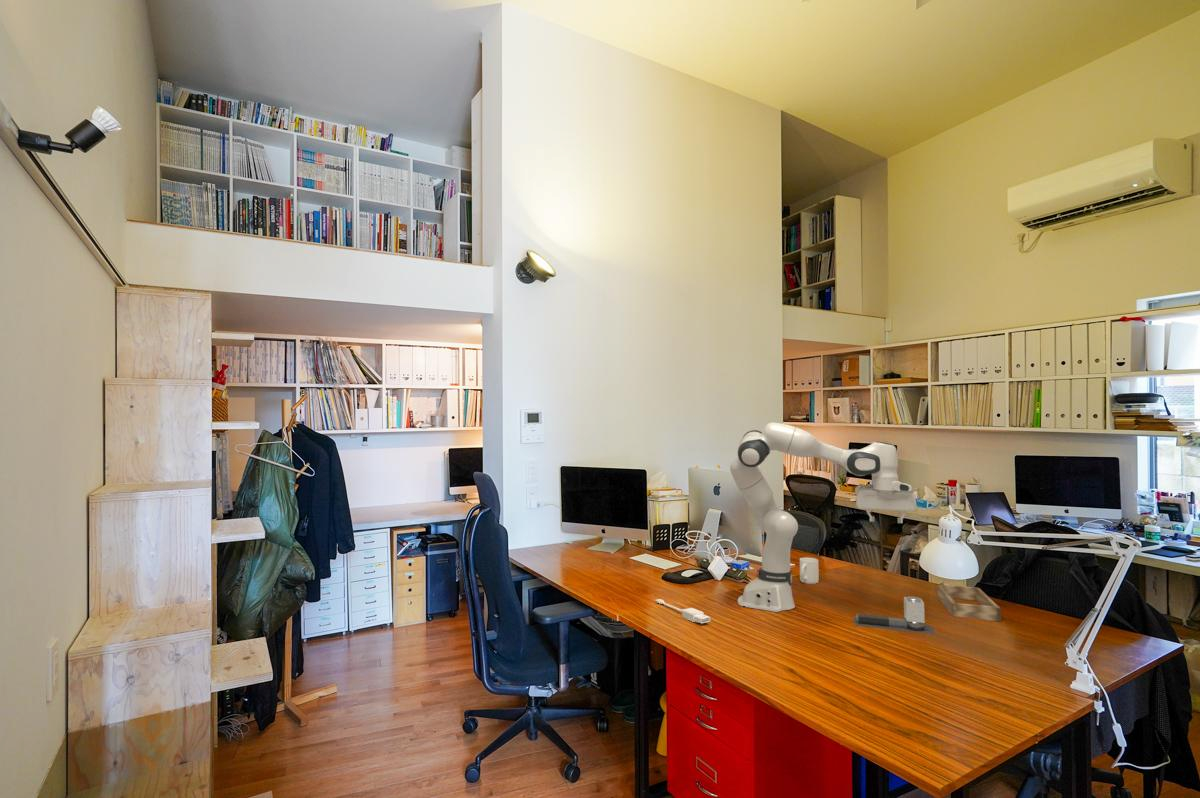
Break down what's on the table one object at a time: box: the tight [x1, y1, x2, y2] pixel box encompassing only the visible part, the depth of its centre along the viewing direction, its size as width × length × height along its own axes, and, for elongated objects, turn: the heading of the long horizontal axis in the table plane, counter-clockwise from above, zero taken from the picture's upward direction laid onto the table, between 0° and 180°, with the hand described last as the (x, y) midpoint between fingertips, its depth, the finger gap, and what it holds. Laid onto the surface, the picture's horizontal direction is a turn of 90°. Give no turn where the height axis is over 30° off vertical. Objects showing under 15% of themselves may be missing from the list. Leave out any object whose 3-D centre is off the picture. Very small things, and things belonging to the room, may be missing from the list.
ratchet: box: [855, 613, 925, 631], centre depth 207 cm, size 22×6×8 cm, turn 70°
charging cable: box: [654, 598, 711, 624], centre depth 222 cm, size 5×32×3 cm, turn 29°
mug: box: [799, 557, 820, 585], centre depth 265 cm, size 12×8×10 cm
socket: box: [903, 595, 926, 624], centre depth 204 cm, size 6×6×8 cm
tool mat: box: [852, 617, 937, 635], centre depth 207 cm, size 26×9×1 cm, turn 70°
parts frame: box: [936, 583, 1002, 623], centre depth 228 cm, size 15×28×5 cm, turn 160°
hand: (886, 522), depth 212 cm, fingers open, 8 cm apart
